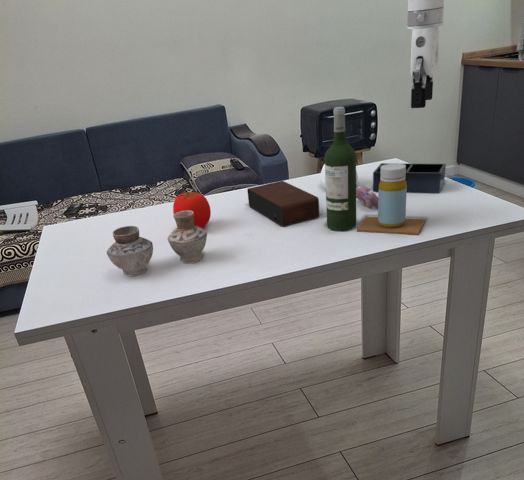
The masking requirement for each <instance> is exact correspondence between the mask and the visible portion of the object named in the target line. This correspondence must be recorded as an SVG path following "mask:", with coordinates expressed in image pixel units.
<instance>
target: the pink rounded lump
mask: <svg viewBox="0 0 524 480" xmlns="http://www.w3.org/2000/svg"><path fill="white" fill-rule="evenodd" d="M356 200H358V201H359V202H360V203H361V205H362V206H366V207H367V208H368V209H371V208H372V207H374V208H376V209H378V195H376V194H375V192H373V190H371V189H370V188H369V187H367V186H360V185H359V186H358V187H356Z"/></svg>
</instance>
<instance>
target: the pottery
mask: <svg viewBox="0 0 524 480" xmlns="http://www.w3.org/2000/svg"><path fill="white" fill-rule="evenodd" d="M193 216H194V212H193V211H189V210H185V211H180V212H177V213H175V214H173V216H172V217H173V219H174V221H175V224H176V227H177V228H175V229H174V230H173V231H172V232H171V233H170V234H169V235H168V237H167V241H168V244H169V245H170V248H171V250H172V251H173V252H174V253H175V254H176V255H178V256H179V261H180V262H181V263H184V264H193V263H197V262H199V261H201V260H202V259H203V255H202V252H203V251H204V249H205V246H206V243H207V239H208V238H207V237H208V231H206V229H204V228H200V227H198V226H195V225H194V219H193ZM112 236H113V240H114V241H115V242H113V243H112V244H111V246H109V247H108V249H107V250H106V255H107V258H108V259H109V261H110V262H111V264H113V266H115V267H116V268H118V269H120V270H122V273H123V274H124V275H125V276H127V277H135V276H139V275H142V274H144V273H145V272H146V271H147V270H148V268H147V265H149V263H150V261H151V260H152V257H153V254H154V245H153V242H152V241H151V240H150V239H147V238H145V237H142V236H140V229H139V227H138V226H136V225H127V226H121V227H118V228H116V229H114V230H113V231H112Z"/></svg>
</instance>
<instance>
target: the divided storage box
mask: <svg viewBox="0 0 524 480" xmlns="http://www.w3.org/2000/svg"><path fill="white" fill-rule="evenodd" d="M390 163H391V162H389V163H388V162H387V163H386V162H385V163H384V162H381V163H380V164H379V165H378V166H377V167H376V168H375V169H374V171H373V172H372V192H373V193H375V192H376V193H379V183H380V180H381V179H380V177H381V175H380V173H381V166H382V165H385V164H390ZM401 164H404V165H406V174H405V180H406V183H407V192H406V194H408V193H410V194H440V192H441V191H442V189H443V187H444V184H445V179H446V167H447V163H406V162H405V163H401Z"/></svg>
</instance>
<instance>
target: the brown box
mask: <svg viewBox="0 0 524 480" xmlns="http://www.w3.org/2000/svg"><path fill="white" fill-rule="evenodd" d="M247 201H248V207H249V208H251V209H252V210H254V211H255V212H257V213H259V214H260V215H262V216H263V217H265V218H267V219H268V220H270V221H272V222H273V223H274V224H277V225H278V226H280V227H281V228H283V227H286V226H289V225H293V224H297V223H302V222H305V221H309V220H314V219H316V218H320V199H319V197H318V196H317V195H314V194H312V193H309V192H308V191H306V190H304V189H301V188H300V187H297V186H295V185H293V184H290V183H288V182H286V181H284V180H279V181H274V182H271V183H266V184H261V185H256V186H252V187H249V188H247Z"/></svg>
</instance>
